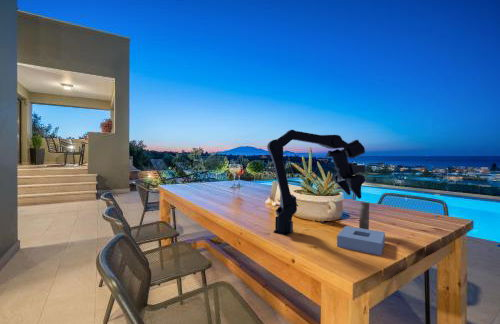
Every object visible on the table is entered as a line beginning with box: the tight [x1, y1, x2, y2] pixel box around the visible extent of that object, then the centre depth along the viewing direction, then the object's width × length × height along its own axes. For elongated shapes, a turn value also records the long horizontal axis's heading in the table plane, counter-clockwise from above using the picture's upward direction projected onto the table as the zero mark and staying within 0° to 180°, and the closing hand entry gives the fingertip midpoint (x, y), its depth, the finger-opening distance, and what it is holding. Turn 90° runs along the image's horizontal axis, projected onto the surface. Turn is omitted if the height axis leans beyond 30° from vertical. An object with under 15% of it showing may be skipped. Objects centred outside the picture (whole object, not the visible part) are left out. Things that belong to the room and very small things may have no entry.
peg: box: [358, 201, 370, 230], centre depth 100 cm, size 4×4×13 cm
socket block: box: [336, 225, 386, 256], centre depth 88 cm, size 14×14×4 cm
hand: (354, 196), depth 104 cm, fingers open, 9 cm apart
